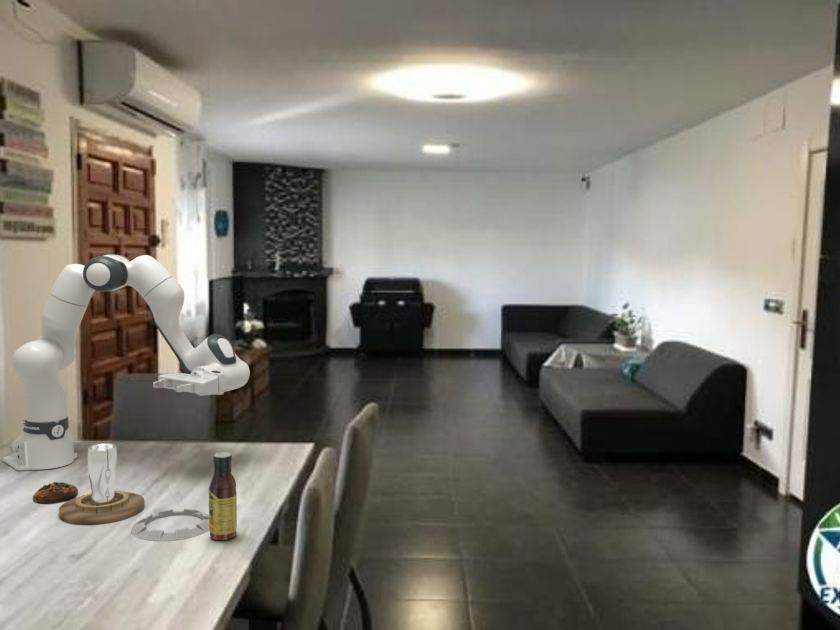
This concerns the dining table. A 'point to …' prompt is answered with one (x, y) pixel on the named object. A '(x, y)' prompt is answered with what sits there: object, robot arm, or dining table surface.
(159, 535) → the ring
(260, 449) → the dining table surface
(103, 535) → the dining table surface
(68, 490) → the bread roll
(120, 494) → the round tray
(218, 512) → the sauce bottle
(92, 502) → the beer glass
